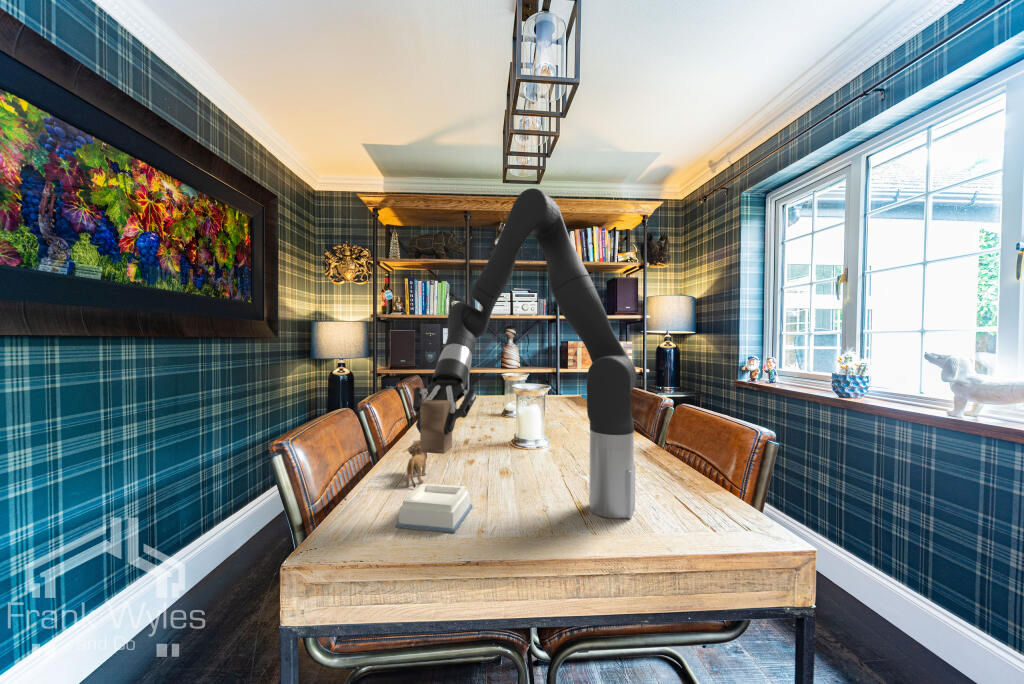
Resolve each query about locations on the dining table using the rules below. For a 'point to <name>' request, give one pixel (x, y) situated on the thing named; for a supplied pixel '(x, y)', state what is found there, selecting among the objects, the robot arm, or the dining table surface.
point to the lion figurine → (416, 463)
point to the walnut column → (434, 426)
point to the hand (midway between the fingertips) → (433, 431)
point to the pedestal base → (435, 508)
